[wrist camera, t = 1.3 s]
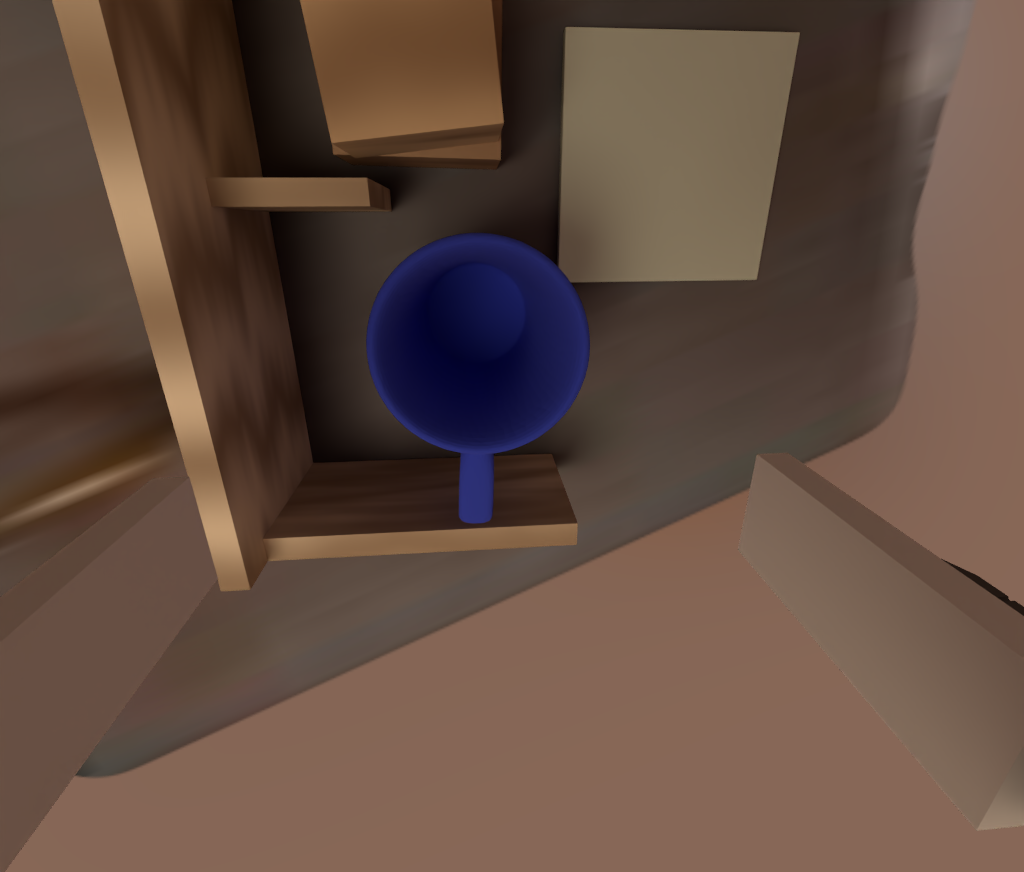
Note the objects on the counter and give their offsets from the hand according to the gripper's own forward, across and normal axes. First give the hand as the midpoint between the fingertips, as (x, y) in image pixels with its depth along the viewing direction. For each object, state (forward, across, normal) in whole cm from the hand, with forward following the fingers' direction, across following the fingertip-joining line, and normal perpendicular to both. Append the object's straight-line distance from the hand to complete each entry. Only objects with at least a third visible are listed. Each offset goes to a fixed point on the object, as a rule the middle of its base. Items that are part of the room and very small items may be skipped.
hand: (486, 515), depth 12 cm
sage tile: (+18, +10, +9) cm, 22 cm away
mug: (+18, 0, 0) cm, 18 cm away
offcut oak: (+14, -2, +12) cm, 18 cm away
